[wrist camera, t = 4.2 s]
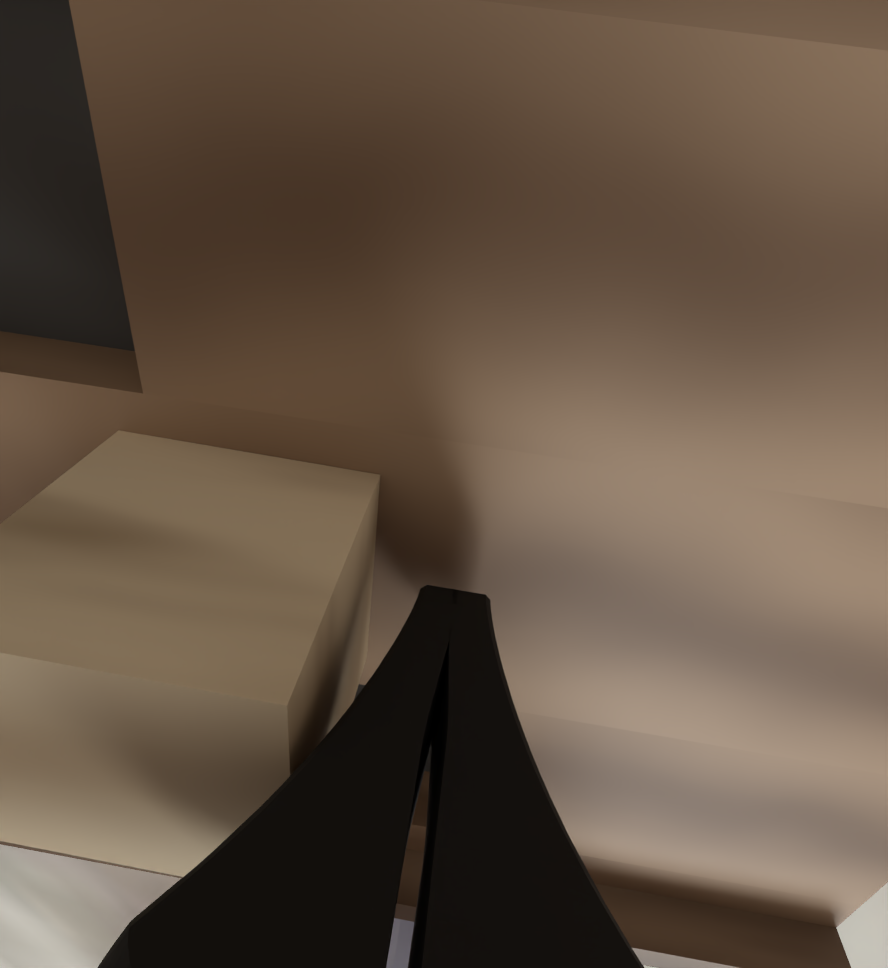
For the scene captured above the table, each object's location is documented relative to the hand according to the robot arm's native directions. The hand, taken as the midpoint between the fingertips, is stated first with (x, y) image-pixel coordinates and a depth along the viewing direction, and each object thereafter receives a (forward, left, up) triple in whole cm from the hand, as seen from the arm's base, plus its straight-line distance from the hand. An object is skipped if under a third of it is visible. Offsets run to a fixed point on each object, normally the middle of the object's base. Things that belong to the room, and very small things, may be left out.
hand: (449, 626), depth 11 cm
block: (0, +4, -1) cm, 4 cm away
